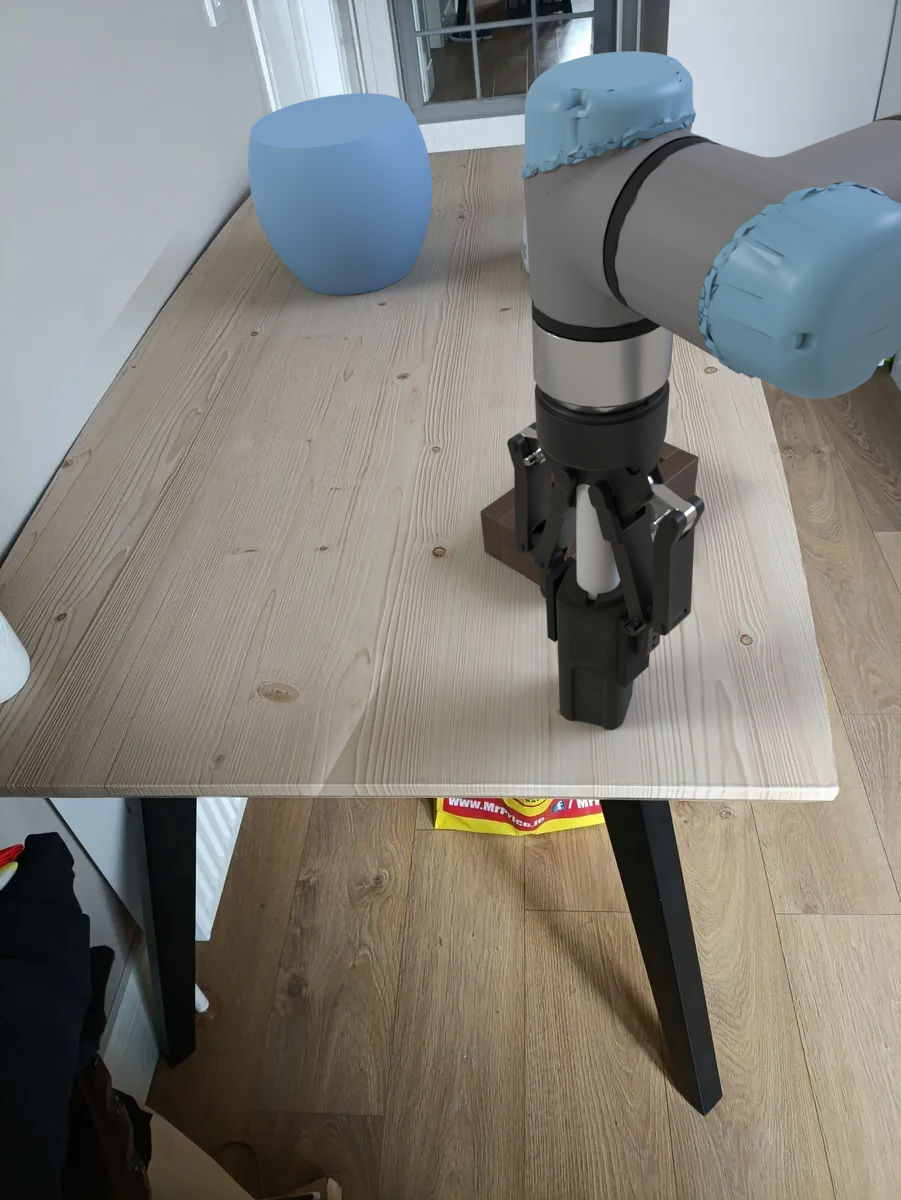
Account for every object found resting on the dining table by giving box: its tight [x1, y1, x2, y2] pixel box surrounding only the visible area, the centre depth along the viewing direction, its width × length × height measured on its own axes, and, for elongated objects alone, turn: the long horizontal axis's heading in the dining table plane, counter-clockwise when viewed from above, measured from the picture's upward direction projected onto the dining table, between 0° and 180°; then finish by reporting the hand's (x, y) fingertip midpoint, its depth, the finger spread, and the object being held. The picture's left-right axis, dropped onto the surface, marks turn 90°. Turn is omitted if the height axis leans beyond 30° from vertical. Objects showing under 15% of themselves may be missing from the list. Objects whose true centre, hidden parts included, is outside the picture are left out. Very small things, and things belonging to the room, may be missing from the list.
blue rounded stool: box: [247, 92, 433, 296], centre depth 123 cm, size 25×25×20 cm
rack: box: [480, 441, 700, 586], centre depth 82 cm, size 10×19×5 cm, turn 134°
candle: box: [556, 484, 634, 730], centre depth 61 cm, size 5×5×25 cm
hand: (597, 651), depth 65 cm, fingers closed on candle, 6 cm apart
